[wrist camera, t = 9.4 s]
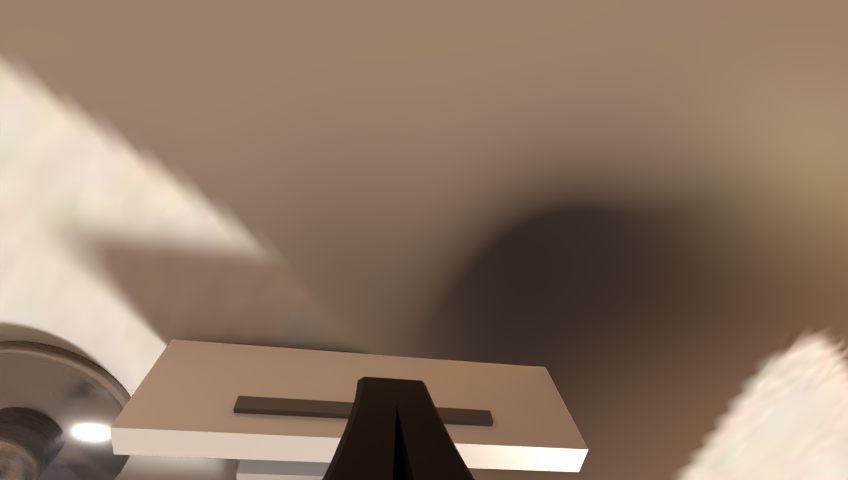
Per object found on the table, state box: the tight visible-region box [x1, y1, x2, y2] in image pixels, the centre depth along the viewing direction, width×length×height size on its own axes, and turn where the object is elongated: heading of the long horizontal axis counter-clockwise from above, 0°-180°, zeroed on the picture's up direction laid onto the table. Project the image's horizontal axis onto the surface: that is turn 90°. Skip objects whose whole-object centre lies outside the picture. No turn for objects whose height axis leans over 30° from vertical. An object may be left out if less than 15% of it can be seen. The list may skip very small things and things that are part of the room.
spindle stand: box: [0, 341, 130, 480], centre depth 15 cm, size 7×7×4 cm
